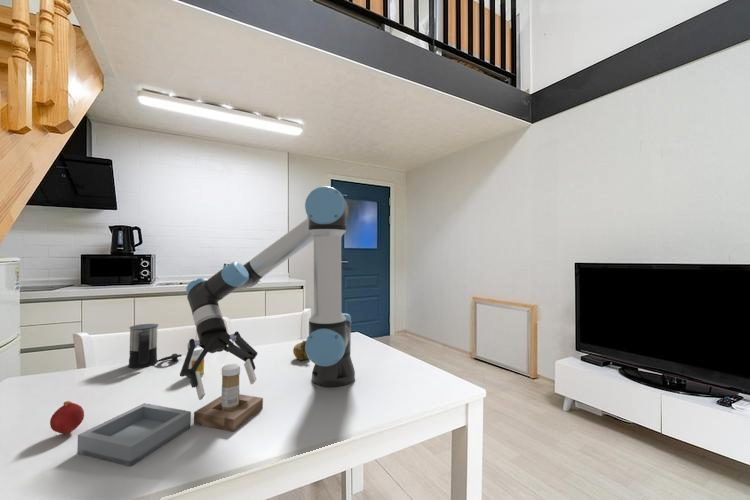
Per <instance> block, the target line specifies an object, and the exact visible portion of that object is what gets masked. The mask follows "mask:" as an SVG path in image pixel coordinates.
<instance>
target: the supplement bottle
mask: <svg viewBox="0 0 750 500" xmlns="http://www.w3.org/2000/svg"><path fill="white" fill-rule="evenodd" d="M202 351H203V348H202V347H200V346H197V347H196V348H195V349H194V351H193V354H192V357H191V360H190V363H189V366H188V369H191V368H192V366H193V365H194V363H195V362H196V360H197V359H198V357H199V356H200V354H201V353H202ZM197 371H199V373H200V376H201V378H202V377H203V376H204V374H205V373H204V372H205V358H204V359H203V360H202V362H201V364H200V365H199V367H198V368H197V370H196V371H195V373H196V372H197ZM185 377H186V379H188V380H190V379H189V378H188V377H187V376H185Z"/></svg>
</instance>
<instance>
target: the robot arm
mask: <svg viewBox="0 0 750 500" xmlns="http://www.w3.org/2000/svg"><path fill="white" fill-rule="evenodd" d="M304 210H305V213H306V219H304V220H303V221H302V222H300V223H299V224H297V225H296V226H295V227H293V228H292V229H290V231H288V232H286V234H284V235H283V236H281V237H280V238H279V239H277V240H275V241H274V242H272V244H271V245H268V247H266V248H265V249H263V250H262V251H261V252H259V253H258V254H256V255H255V256H254V257H253V258H251V259H250V260H248V261H247V262H246V263H244V264H242V263H239V262H238V261H233V262H231V263H229V264H227V265H225V266H224V267H223V268H222V269H220V270H219V271H218V272H216V273H215V274H213V276H210V277H209V278H206V277H201V278H197V279H195V280H191V281H190V282H189V283H188V284H187V285H186V290H185V292H186V299H187V301H188V304H189V306H190V309H191V314H192V317H193V321H194V326H195V328H196V330H195V331H196V333H197V334H196V335H197V336H198V337H197V338H198V340H197V339H196V340H195V338H190V339H189V341H188V343H187V353H186V356H185V359H184V360H183V361H184V362H183V363H182V366H181V370H180V372H179V376H180V377H182V378H183V377H186V376H187V377H188V378H189V379H188V378H187V379H188V380H189V382H190V387H191V389H193V388H195V390H196V394H197V398H198V401H201V400H203V399H204V397H205V395H206V393H205V389H204V385H203V382H202V377H201V376H200V373H199V371H197V372H196V373H195V371H196V370H197V368H198V367H199V365H200V364H201V362H202V360H203V359H204V360H205V357H206V355H208V353H210V354H214V353H220V352H223V351H224V352H226V353H230V354H232V355H234V356H235V357H237V358H239V359H240V360H242V361H243V362H244V364H243V366H244V370H245V371H246V374H247V375H246V376H247V377H248V381H249V384H250V385H254V383H255V382H256V381H257V376H256V373H255V369H256V365H255V362H254V360H255V359H256V358H257V355H258V352H257V351H256V350H255V349H254V347H252V346H251V345H250V344H249V343H248V342H247V341H246V340H245V339H244V338H243V337H242V336H241V334H240V332H239V331H238V330H237V331H235V332H234V333H232V334H230V333H228V330H227V326H226V324H225V320H224V317H223V314H222V312H221V308H220V306H219V305H220V304H219V302H220V301H221V300H223V299H224V298H225V297H227V296H228V295H230V294H231V293H234V291H238V290H242V289H247V288H251V287H255V286H256V285H257V284H258V283H259V282H260V280H261V279H262V278H264V277H265V276H267V275H268V274H269V273H271V272H272V271H274V270H275V269H276V268H278V267H279V266H281V264H283V263H284V262H286V261H287V260H289V259H290V258H291V257H292V256H294V255H296V254H297V253H298V252H299V251H301V250H302V249H304V248H305V247H306V246H308V245H310V244H311V243H312V242H313V314H312V315H311V316H310V317H309V318H308V336H307V338H306V339H305V341H306V344H305V350H306V354H307V356H308V358H307V359H308V360H310V361H311V362H312V363H313V364H314V365H313V370H312V371H311V380H312V383H314V384H316V385H318V386H322V387H329V388H331V387H333V388H337V387H341V386H342V387H343V386H346V385H349V384H351V383H353V381H354V380H355V378H356V371H355V367H354V363H353V360H352V357H351V345H352V344H351V338H352V337H351V336H352V335H351V334H352V328H351V327H352V323H353V322H352V316H351V314H349V313H343V312H342V237H343V235H345V233H346V232H347V220H348V217H349V214H350V213H349V212H350V207H349V203H348V202H347V200H346V199H345V198H344V195H343V194H342V193H341V191H339V190H338V189H336V188H334V187H333V186H332V187H331V186H327V185H322V186H319V187H316V188H314V189H312V191H310V193H308V195H307V197H306V199H305V203H304ZM196 347H201V348H202V353H201V354H200V356H199V357H198V359H197V360H196V362H195V363H194V365H193V366H192V368H191V369H188V366H189V363H190V360H191V357H192V354H193V351H194V349H195V348H196Z"/></svg>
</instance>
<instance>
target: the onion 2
mask: <svg viewBox="0 0 750 500" xmlns="http://www.w3.org/2000/svg"><path fill="white" fill-rule="evenodd" d="M305 344H306V340H302V342H300V343H297V344H295V345H294V346H293V349H292V351H293V355H294V357H295V358H296V359H297V360H299V361H305V360H307V359H309V358H308V356H307V354H306V350H305Z"/></svg>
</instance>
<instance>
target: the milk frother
mask: <svg viewBox="0 0 750 500" xmlns="http://www.w3.org/2000/svg"><path fill="white" fill-rule="evenodd" d="M158 326H159V324H158V323H143V324H141V323H140V324H136V325H135V324H134V325H132V326H128V327H129V358H128V365H127V367H128V368H132V369H133V368H134V369H136V368H137V369H138V368H139V369H140V368H146V367H150V366H153V365H155V364H158V363H159V362H164V361H168V360H171V361H172V362H173V361H174V362H175V361H177V360H178V359H179V358H180V357H182V355H183V354H177V353H176V352H175V353H173V354H171V355H170V356H165V357H162V358H160V359H158V354H157V351H158Z"/></svg>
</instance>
